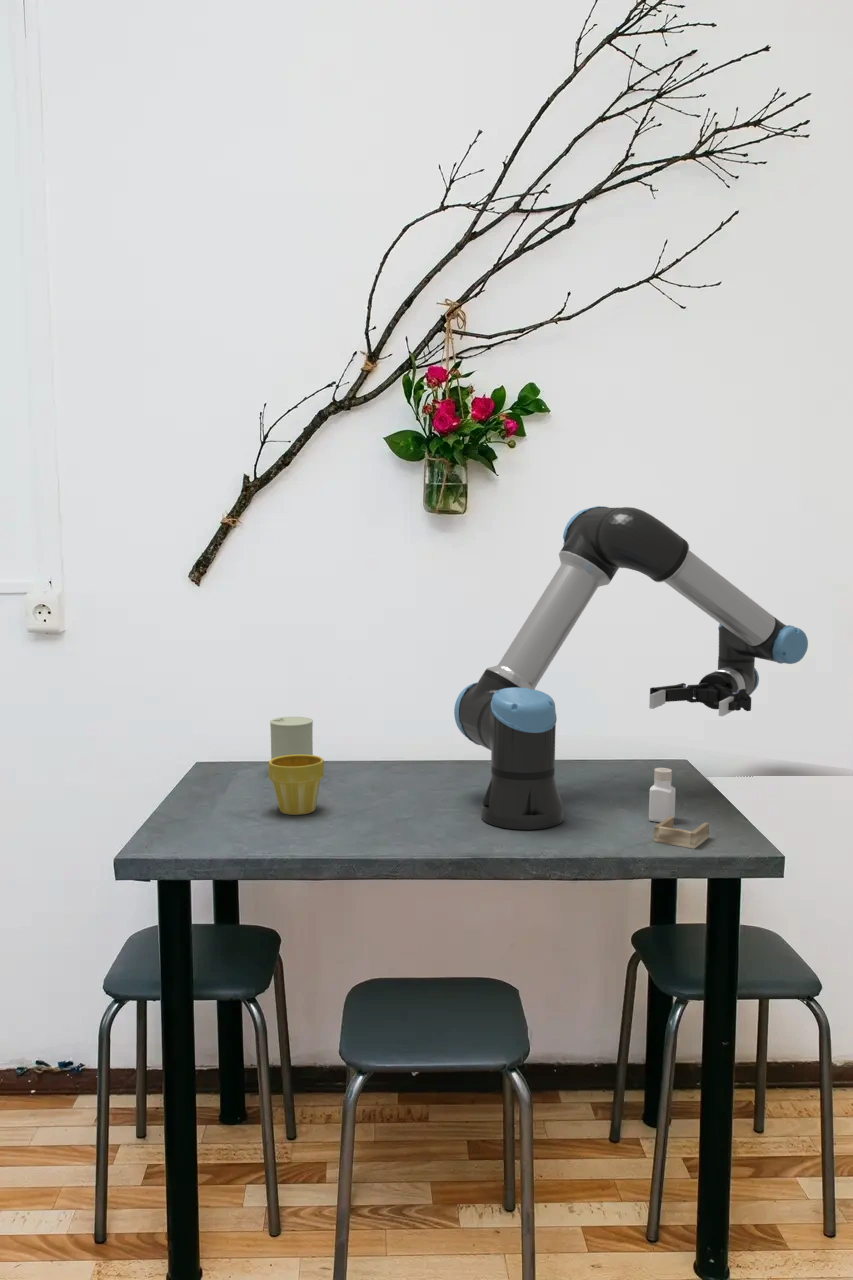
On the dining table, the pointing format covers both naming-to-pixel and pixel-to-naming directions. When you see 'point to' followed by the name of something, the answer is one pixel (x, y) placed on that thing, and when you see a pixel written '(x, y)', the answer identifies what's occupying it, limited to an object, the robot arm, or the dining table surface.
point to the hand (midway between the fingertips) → (685, 705)
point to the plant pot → (296, 782)
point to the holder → (680, 834)
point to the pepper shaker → (662, 796)
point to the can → (291, 736)
